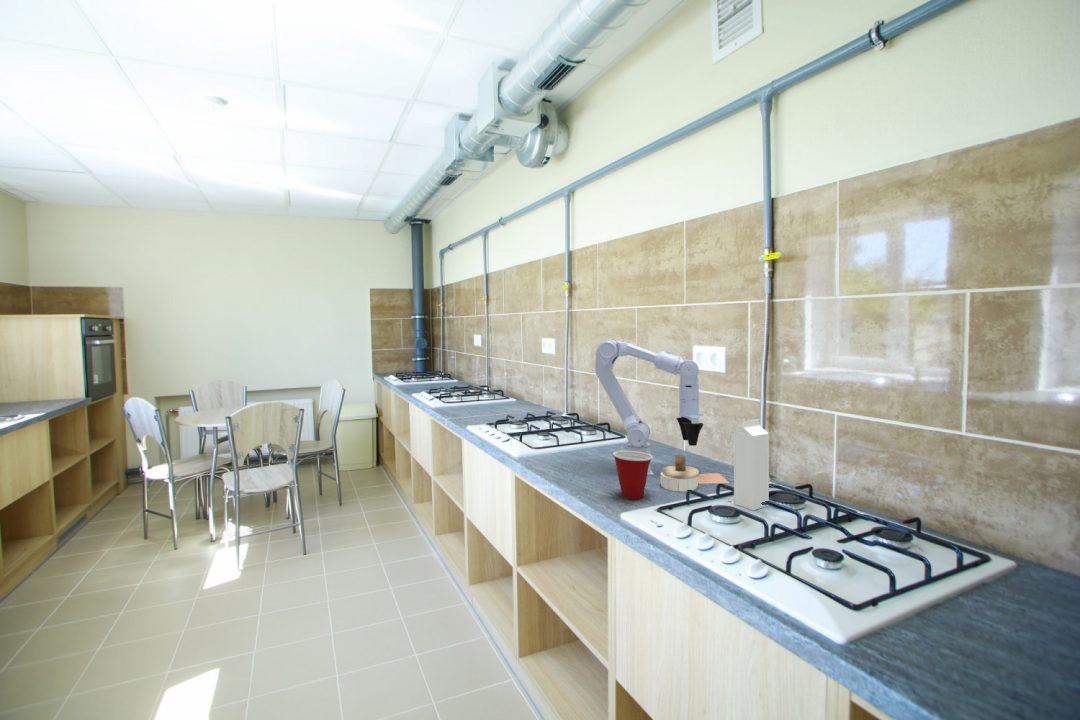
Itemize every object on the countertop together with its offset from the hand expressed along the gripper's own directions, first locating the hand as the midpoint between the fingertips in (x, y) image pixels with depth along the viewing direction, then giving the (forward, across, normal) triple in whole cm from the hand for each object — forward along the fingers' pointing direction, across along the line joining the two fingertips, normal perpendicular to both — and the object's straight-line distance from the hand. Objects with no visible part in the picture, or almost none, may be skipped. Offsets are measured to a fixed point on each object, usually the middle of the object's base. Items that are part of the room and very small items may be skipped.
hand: (689, 442), depth 158 cm
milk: (+11, -27, -9) cm, 30 cm away
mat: (+10, -5, -4) cm, 12 cm away
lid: (+6, -12, +6) cm, 15 cm away
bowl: (+10, -12, +6) cm, 17 cm away
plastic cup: (+11, -19, +20) cm, 30 cm away
